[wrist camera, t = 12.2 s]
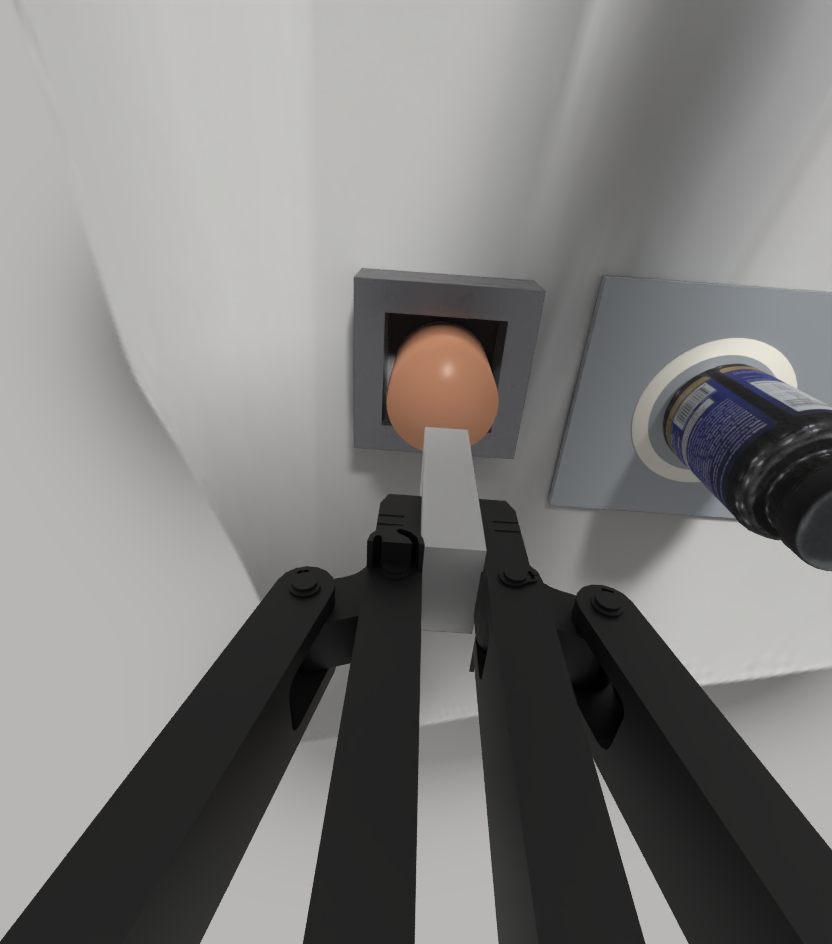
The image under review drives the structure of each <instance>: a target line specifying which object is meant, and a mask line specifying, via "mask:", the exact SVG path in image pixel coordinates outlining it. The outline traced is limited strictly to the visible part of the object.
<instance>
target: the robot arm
mask: <svg viewBox="0 0 832 944" xmlns="http://www.w3.org/2000/svg"><path fill="white" fill-rule="evenodd" d="M474 624H475V634H476V637H475V642H474V648H473V653H472V659H471V664H470V671H469V672H474V668H475V679H476V690H477V702H478V713H479V724H480V735H481V746H482V759H483V770H484V782H485V793H486V804H487V816H488V827H489V839H490V850H491V861H492V873H493V883H494V896H495V907H496V918H497V929H498V941H499V944H645V941H644V937H643V934H642V930H641V927H640V923H639V920H638V916H637V912H636V909H635V906H634V902H633V899H632V895H631V891H630V888H629V884H628V881H627V877H626V874H625V871H624V867H623V863H622V860H621V856H620V853H619V849H618V846H617V842H616V838H615V835H614V831H613V828H612V824H611V821H610V817H609V814H608V811H607V807H606V803H605V800H604V796H603V793H602V789H601V786H600V783H599V779H598V775H597V772H596V768H595V765H594V761H595V763H596V765H597V767H598V769H599V770H600V773H601V775H602V777H603V779H604V780H605V782H606V784H607V786H608V788H609V790H610V792H611V794H612V796H613V798H614V800H615V801H616V804H617V806H618V808H619V810H620V811H621V813H622V815H623V817H624V819H625V821H626V823H627V825H628V827H629V829H630V831H631V833H632V835H633V837H634V839H635V841H636V842H637V844H638V846H639V848H640V850H641V852H642V854H643V856H644V858H645V860H646V862H647V864H648V866H649V868H650V870H651V871H652V873H653V875H654V877H655V879H656V881H657V883H658V885H659V887H660V889H661V891H662V893H663V895H664V897H665V899H666V901H667V903H668V904H669V906H670V908H671V910H672V912H673V914H674V916H675V918H676V920H677V922H678V924H679V926H680V928H681V930H682V931H683V934H684V935H685V937H686V939H687V941H688V943H689V944H832V850H831V849H830V847H829V846H828V845H827V844H826V842H825V841H824V840H823V839H822V837H821V836H820V835H819V834H818V832H817V831H816V830H815V829H814V827H813V826H812V825H811V824H810V822H809V821H808V820H807V819H806V818H805V817H804V815H803V814H802V812H801V811H800V810H799V809H798V807H796V805H795V804H794V803H793V801H792V800H791V799H790V798H789V796H788V795H787V794H786V793H785V791H784V790H783V789H782V788H781V786H780V785H779V784H778V783H777V781H776V780H775V779H774V778H773V777H772V775H771V774H770V773H769V771H768V770H767V769H766V768H765V766H764V765H763V764H762V763H761V762H760V760H759V759H758V758H757V757H756V755H755V754H754V753H753V752H752V750H751V749H750V748H749V747H748V745H747V744H746V743H745V742H744V740H743V739H742V738H741V737H740V735H739V734H738V733H737V732H736V730H735V729H734V728H733V727H732V726H731V724H730V723H729V722H728V720H727V719H726V718H725V717H724V715H723V714H722V713H721V712H720V710H719V709H718V708H717V707H716V706H715V704H714V703H713V702H712V701H711V699H710V698H709V697H708V696H707V694H706V693H705V692H704V691H703V689H702V688H701V687H700V686H699V684H698V683H697V682H696V681H695V679H694V678H693V677H692V676H691V674H690V673H689V672H688V671H687V669H686V668H685V667H684V666H683V664H682V663H681V662H680V661H679V659H678V658H677V657H676V656H675V655H674V653H673V652H672V651H671V650H670V648H669V647H668V646H667V645H666V643H665V642H664V641H663V640H662V638H661V637H660V636H659V635H658V633H657V632H656V631H655V630H654V628H653V627H652V626H651V625H650V623H649V622H648V621H647V620H646V618H645V617H644V616H643V615H642V613H641V612H640V611H639V610H638V608H637V607H636V606H635V605H634V604H633V602H632V601H631V600H630V599H629V598H627V597H626V596H625V595H624V594H623V593H621V592H619V591H617V590H615V589H614V588H610V587H607V586H603V585H589V586H585V587H583V588H582V589H581V590H580V591H579V592H578V593H577V596H576V595H573V594H569V593H566V592H563V591H559V590H557V589H554V588H552V587H549V586H548V585H546V584H544V583H543V581H542V579H541V577H540V575H539V573H538V572H537V571H536V570H535V569H533V568H532V567H531V566H530V565H529V561H528V557H527V554H526V550H525V546H524V542H523V539H522V535H521V531H520V527H519V525H518V520H517V516H516V512H515V510H514V509H513V508H512V507H511V506H510V505H509V504H508V503H507V502H506V501H499V500H484V499H478V492H477V486H476V479H475V473H474V466H473V460H472V453H471V447H470V440H469V434H468V430H463V429H449V428H434V427H425V432H424V445H423V457H422V470H421V482H420V496H410V495H395V494H388V496H387V497H386V498H385V499H384V500H383V501H382V502H381V503H380V509H379V515H378V521H377V527H376V531H374V532H373V533H371V534H370V536H369V538H368V540H367V566H366V567H365V568H364V569H363V570H361V571H360V572H358V573H356V574H354V575H351V576H347V577H342V578H337V579H333V577H332V576H331V575H330V574H329V573H328V572H327V571H325V570H323V569H320V568H318V567H308V566H306V567H300V568H295V569H293V570H291V571H288V572H286V573H285V574H284V575H283V576H282V577H280V578H279V579H278V580H277V582H276V583H275V584H274V586H273V587H272V588H271V590H270V591H269V592H268V593H267V595H266V596H265V597H264V599H263V600H262V601H261V603H260V604H259V605H258V606H257V608H256V609H255V610H254V612H253V613H252V614H251V616H250V617H249V618H248V619H247V621H246V622H245V623H244V625H243V626H242V627H241V629H240V630H239V631H238V632H237V634H236V635H235V637H234V638H233V639H232V640H231V642H230V643H229V645H228V646H227V647H226V648H225V649H224V651H223V652H222V653H221V655H220V656H219V657H218V659H217V660H216V661H215V662H214V664H213V665H212V666H211V668H210V669H209V670H208V672H207V673H206V674H205V675H204V677H203V678H202V679H201V681H200V682H199V683H198V685H197V686H196V687H195V689H194V690H193V691H192V693H191V694H190V695H189V696H188V698H187V699H186V700H185V702H184V703H183V704H182V705H181V707H180V708H179V709H178V711H177V712H176V713H175V715H174V716H173V717H172V718H171V720H170V721H169V722H168V724H167V725H166V726H165V728H164V729H163V730H162V731H161V733H160V734H159V735H158V737H157V738H156V739H155V741H154V742H153V743H152V745H151V746H150V747H149V748H148V750H147V751H146V752H145V754H144V755H143V756H142V758H141V759H140V760H139V762H138V763H137V764H136V765H135V767H134V768H133V769H132V771H131V772H130V773H129V775H128V776H127V777H126V779H125V780H124V781H123V782H122V784H121V785H120V786H119V788H118V789H117V790H116V791H115V793H114V794H113V795H112V797H111V798H110V799H109V801H108V802H107V803H106V804H105V806H104V807H103V808H102V810H101V811H100V812H99V814H98V815H97V816H96V817H95V819H94V820H93V821H92V823H91V824H90V825H89V827H88V828H87V829H86V830H85V832H84V833H83V834H82V836H81V837H80V838H79V840H78V841H77V842H76V844H75V845H74V846H73V847H72V849H71V850H70V851H69V853H68V854H67V856H66V857H65V858H64V859H63V860H62V862H61V863H60V865H59V866H58V867H57V868H56V870H55V871H54V872H53V873H52V875H51V876H50V878H49V879H48V880H47V881H46V883H45V884H44V885H43V887H42V888H41V889H40V890H39V892H38V893H37V894H36V896H35V897H34V898H33V900H32V901H31V902H30V904H29V905H28V906H27V908H26V909H25V910H24V911H23V913H22V914H21V915H20V917H19V918H18V919H17V921H16V922H15V923H14V924H13V926H12V927H11V928H10V930H9V931H8V932H7V933H6V935H5V936H4V937H3V939H2V940H1V941H0V944H200V942H201V940H202V938H203V936H204V934H205V932H206V930H207V928H208V926H209V924H210V922H211V920H212V918H213V916H214V914H215V912H216V910H217V908H218V906H219V904H220V902H221V900H222V898H223V896H224V894H225V892H226V890H227V888H228V886H229V884H230V882H231V880H232V878H233V876H234V874H235V872H236V870H237V868H238V866H239V863H240V861H241V860H242V857H243V855H244V853H245V851H246V849H247V847H248V845H249V843H250V841H251V839H252V837H253V835H254V833H255V831H256V829H257V827H258V825H259V823H260V821H261V819H262V817H263V815H264V813H265V811H266V809H267V807H268V805H269V803H270V801H271V799H272V797H273V795H274V793H275V791H276V789H277V787H278V785H279V783H280V781H281V779H282V776H283V775H284V773H285V771H286V769H287V766H288V764H289V762H290V760H291V758H292V756H293V754H294V752H295V750H296V748H297V746H298V744H299V742H300V740H301V738H302V736H303V734H304V732H305V730H306V728H307V726H308V724H309V722H310V720H311V718H312V716H313V714H314V712H315V710H316V708H317V706H318V704H319V702H320V700H321V698H322V696H323V694H324V692H325V690H326V688H327V686H328V684H329V682H330V680H331V678H332V676H333V674H334V672H335V668H336V666H340V665H344V664H349V663H351V664H350V670H349V676H348V682H347V688H346V694H345V700H344V705H343V711H342V717H341V723H340V729H339V735H338V741H337V747H336V753H335V758H334V765H333V770H332V776H331V782H330V788H329V794H328V800H327V805H326V812H325V817H324V823H323V829H322V835H321V841H320V847H319V852H318V859H317V864H316V870H315V876H314V882H313V888H312V893H311V899H310V905H309V911H308V917H307V923H306V929H305V935H304V940H303V944H415V943H414V942H415V898H416V849H417V848H416V847H417V802H418V801H417V800H418V755H419V707H420V659H421V630H425V631H440V632H455V633H470V634H472V631H473V625H474ZM593 759H594V761H593Z"/></svg>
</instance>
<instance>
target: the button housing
mask: <svg viewBox="0 0 832 944" xmlns="http://www.w3.org/2000/svg"><path fill="white" fill-rule="evenodd" d="M544 296H545V290H544V289H543V288H541V287H540V286H539V285H538V284H537V283H536V282H535V281H530V280H516V279H503V278H489V277H475V276H461V275H448V274H434V273H420V272H407V271H393V270H379V269H366V268H362V269H361V270H360V271H359V272H358V273H357V274H356V275H355V276H354V448H367V449H381V450H395V451H409V452H423V451H422V450H419V449H417V448H415V447H413V446H411V445H410V444H408V443H407V442H406V441H405V440H403V439H402V438H401V437H400V436H399V434H398V433H397V432H396V431H395V429H394V427H393V426H392V424H391V422H390V419H389V416H388V412H387V404H386V393H387V364H388V335H389V313H401V314H414V315H428V316H442V317H456V318H470V319H483V320H497V321H499V324H498V331H497V338H496V345H495V351H494V358H493V365H492V374H493V377H494V380H495V384H496V387H497V391H498V399H499V403H498V411H497V415H496V418H495V420H494V423H493V424H492V426H491V428H490V429H489V431H488V432H487V433H486V435H485V436H484V437H483V438H482V439H481V440H479V441H478V442H477V443H475V444H474V445H472V446H471V453H472V456H479V457H494V458H508V459H514V454H515V449H516V443H517V438H518V433H519V428H520V422H521V417H522V412H523V406H524V401H525V396H526V391H527V385H528V380H529V375H530V370H531V364H532V359H533V354H534V349H535V343H536V338H537V333H538V328H539V322H540V317H541V312H542V307H543V301H544Z"/></svg>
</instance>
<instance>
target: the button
mask: <svg viewBox="0 0 832 944" xmlns="http://www.w3.org/2000/svg"><path fill="white" fill-rule="evenodd" d="M498 403H499V399H498V391H497V387H496V384H495V380H494V377H493V374H492V371H491V368H490V365H489V362H488V359H487V356H486V353H485V350H484V348H483V346H482V344H481V342H480V341H479V339H478V338H477V337H476V336H475V335H474V334H473V333H472V332H471V331H469V330H468V329H466V328H465V327H463V326H461V325H458V324H455V323H452V322H432V323H428V324H425V325H423V326H420V327H419V328H417V329H415V330H414V331H412V332H411V333H410V334H409V335H408V336H407V337H406V338H405V339H404V341H403V342H402V343H401V345H400V347H399V349H398V351H397V354H396V358H395V362H394V366H393V371H392V375H391V380H390V384H389V388H388V393H387V412H388V416H389V419H390V422H391V424H392V426H393V427H394V429H395V431H396V432H397V433H398V434H399V436H400V437H401V438H402V439H403V440H405V441H406V442H407V443H408V444H410V445H411V446H413V447H415V448H417V449H419V450H422V451H423V445H424V432H425V427H434V428H449V429H463V430H468V434H469V440H470V447H471V446H472V445H474V444H475V443H477V442H478V441H479V440H481V439H482V438H483V437H484V436H485V435H486V433H487V432H488V431H489V429H490V428H491V426H492V424H493V423H494V420H495V418H496V415H497V411H498Z"/></svg>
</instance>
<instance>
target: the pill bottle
mask: <svg viewBox="0 0 832 944" xmlns="http://www.w3.org/2000/svg"><path fill="white" fill-rule="evenodd" d="M663 435H664V438H665V441H666V443H667V445H668V447H669V448H670V450H671V451H672V452H673V453H674V454H675V455H676V456H677V457H678V458H679V459H680V460H681V461H682V462H683V463H684V464H685V465H686V466H687V468H688V469H689V470H690V471H691V472H692V473H693V474H694V475H695V476H696V477H697V478H698V479H699V480H700V481H701V482H702V483H703V484H704V485H705V486H706V487H707V488H708V489H709V491H710V492H711V493H712V494H713V495H714V496H715V497H716V498H717V499H718V500H719V501H720V502H721V503H722V504H723V505H724V506H725V507H726V508H727V509H728V510H729V511H730V513H731V514H732V515H733V516H734V517H735V518H736V519H737V520H738V521H739V523H740V524H742V525H743V526H744V527H746V528H747V529H748V530H750V531H752V532H754V533H756V534H758V535H761V536H764V537H766V538H770V539H774V540H782V542H783V543H784V544H785V545H786V546H787V547H788V548H790V549H791V550H792V551H793V552H794V553H795V554H796V555H797V556H798V557H799V558H800V559H801V560H803V561H804V562H805V563H807V564H809V565H811V566H813V567H815V568H817V569H822V570H826V571H832V407H831V406H829V405H827V404H825V403H823V402H821V401H819V400H818V399H816V398H814V397H812V396H810V395H808V394H806V393H804V392H802V391H800V390H798V389H796V388H794V387H792V386H790V385H788V384H787V383H785V382H783V381H781V380H779V379H777V378H775V377H773V376H771V375H769V374H767V373H765V372H763V371H761V370H759V369H757V368H754V367H752V366H749V365H746V364H727V365H721V366H717V367H715V368H712V369H709V370H706V371H704V372H702V373H700V374H698V375H696V376H695V377H693V378H692V379H691V380H689V381H688V382H687V383H686V384H684V385H683V386H682V387H681V388H680V389H679V390H678V391H677V392H676V394H675V395H674V396H673V398H672V399H671V401H670V403H669V405H668V406H667V408H666V410H665V414H664V420H663Z"/></svg>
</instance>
